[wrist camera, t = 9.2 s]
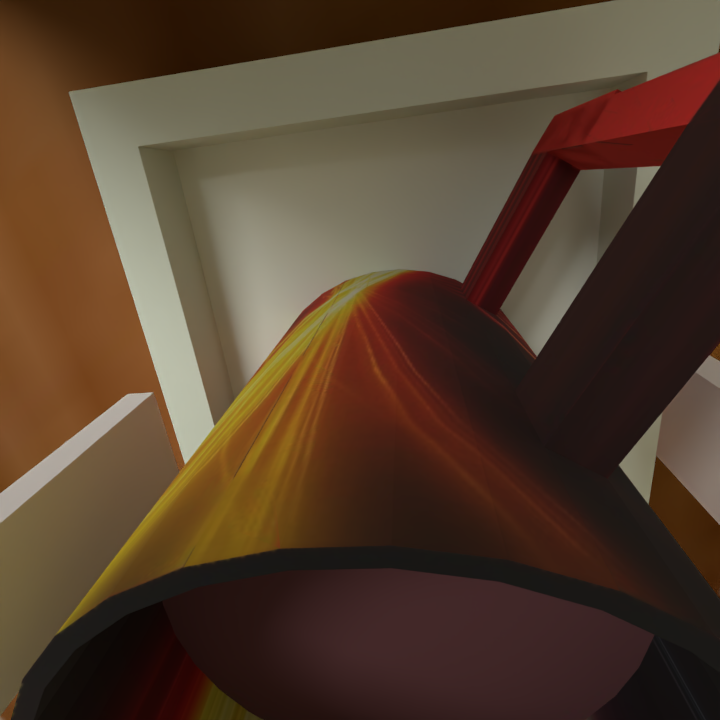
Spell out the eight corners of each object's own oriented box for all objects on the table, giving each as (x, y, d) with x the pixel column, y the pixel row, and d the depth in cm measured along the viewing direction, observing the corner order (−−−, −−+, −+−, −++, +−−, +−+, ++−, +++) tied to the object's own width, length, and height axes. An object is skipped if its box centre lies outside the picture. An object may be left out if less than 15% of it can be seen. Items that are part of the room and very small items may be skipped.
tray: (148, 112, 15) (68, 92, 12) (639, 35, 13) (728, -19, 10) (254, 520, 22) (224, 588, 18) (593, 510, 20) (636, 585, 16)
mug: (571, 119, 13) (1764, -302, 2) (519, 506, 18) (708, 1040, 7) (243, 133, 14) (-472, -71, 2) (285, 497, 19) (115, 955, 8)
